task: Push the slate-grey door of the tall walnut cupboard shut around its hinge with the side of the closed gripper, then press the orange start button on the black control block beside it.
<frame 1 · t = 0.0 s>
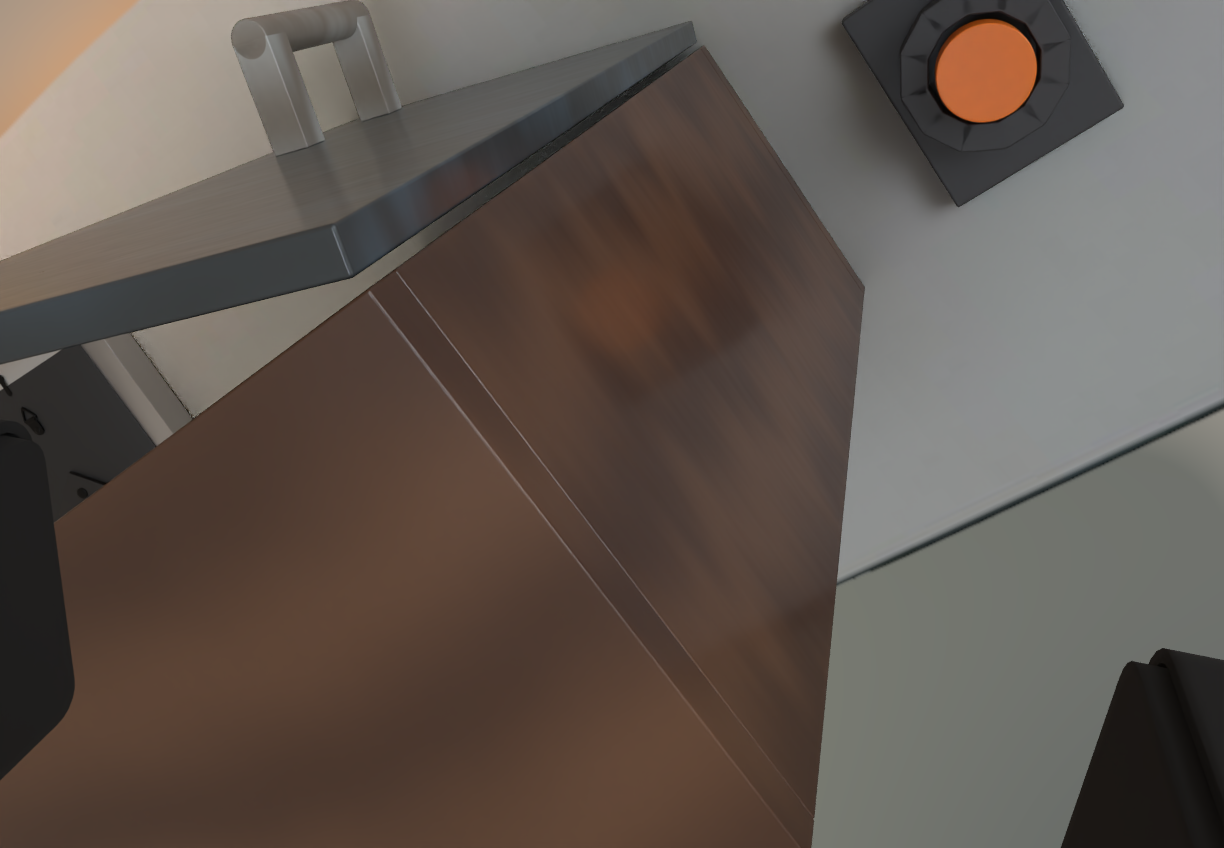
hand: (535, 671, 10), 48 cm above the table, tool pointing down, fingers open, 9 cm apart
picture frame: (122, 487, 73), on the table
control block: (979, 60, 52), on the table
cupboard: (635, 270, 59), on the table
cupboard door: (322, 84, 39), point 19 cm above the table, hinge at 20.0°
start button: (984, 70, 49), point 3 cm above the table, slide at 0.1 cm
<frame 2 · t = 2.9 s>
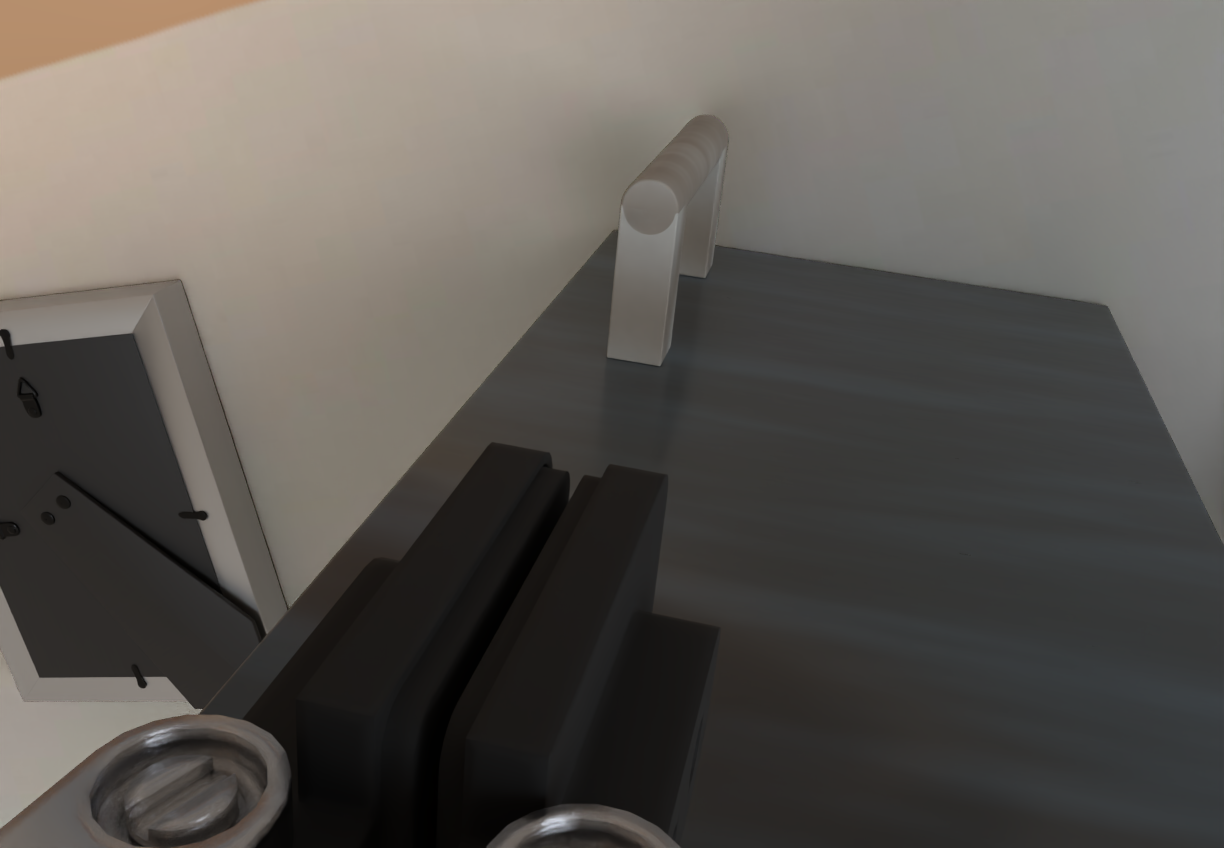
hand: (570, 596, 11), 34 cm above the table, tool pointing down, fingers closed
picture frame: (110, 498, 57), on the table
cupboard door: (833, 421, 26), point 19 cm above the table, hinge at 20.0°
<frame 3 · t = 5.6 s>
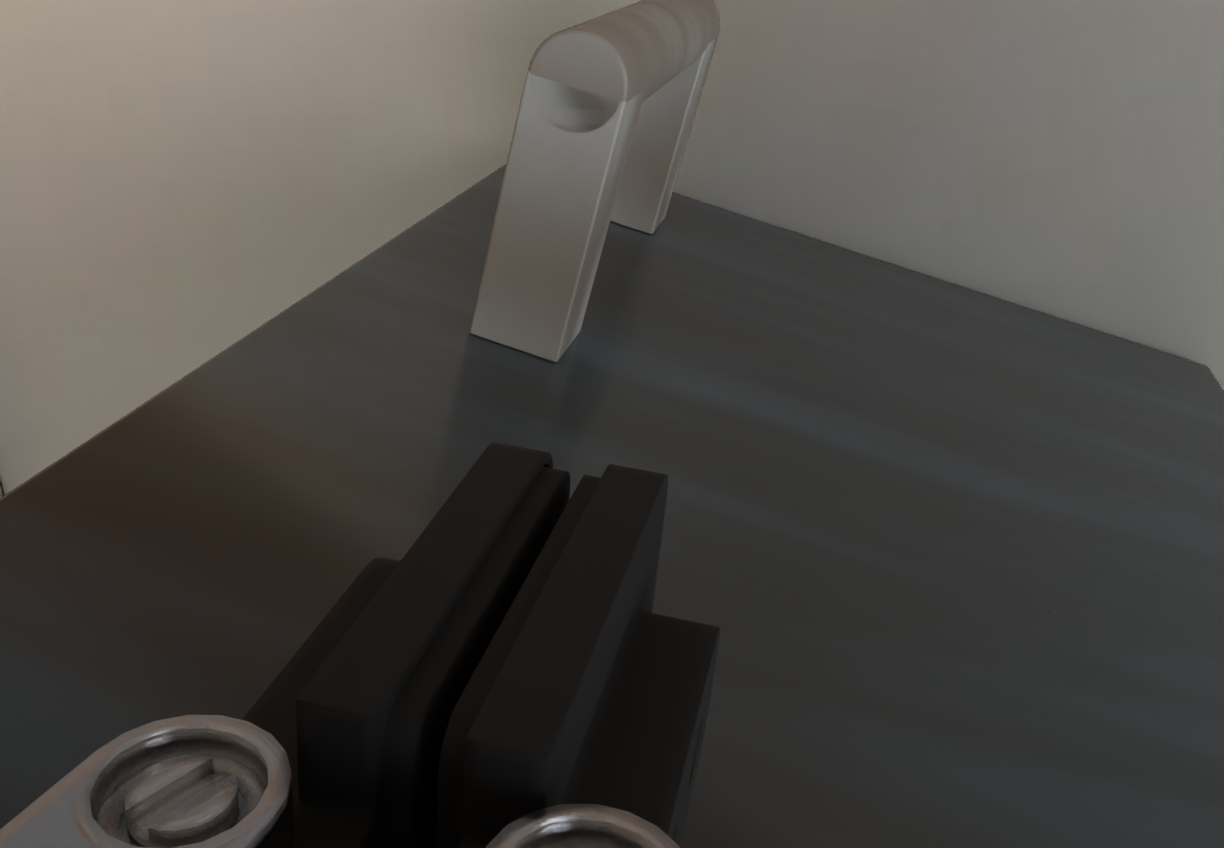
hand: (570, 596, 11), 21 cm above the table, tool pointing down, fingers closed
cupboard door: (876, 547, 12), point 19 cm above the table, hinge at 19.7°, touching gripper
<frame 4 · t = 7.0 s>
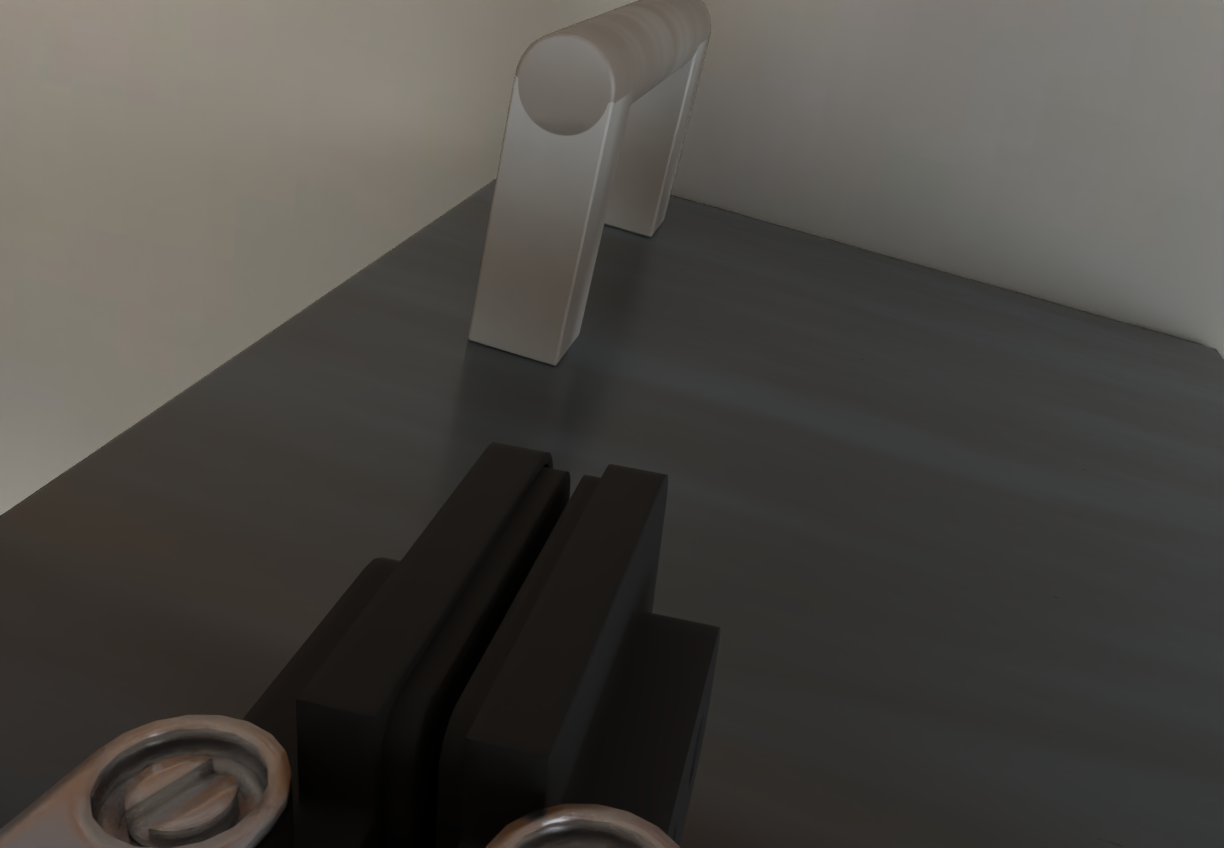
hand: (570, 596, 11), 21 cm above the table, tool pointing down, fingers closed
cupboard door: (872, 535, 12), point 19 cm above the table, hinge at 4.5°, touching gripper
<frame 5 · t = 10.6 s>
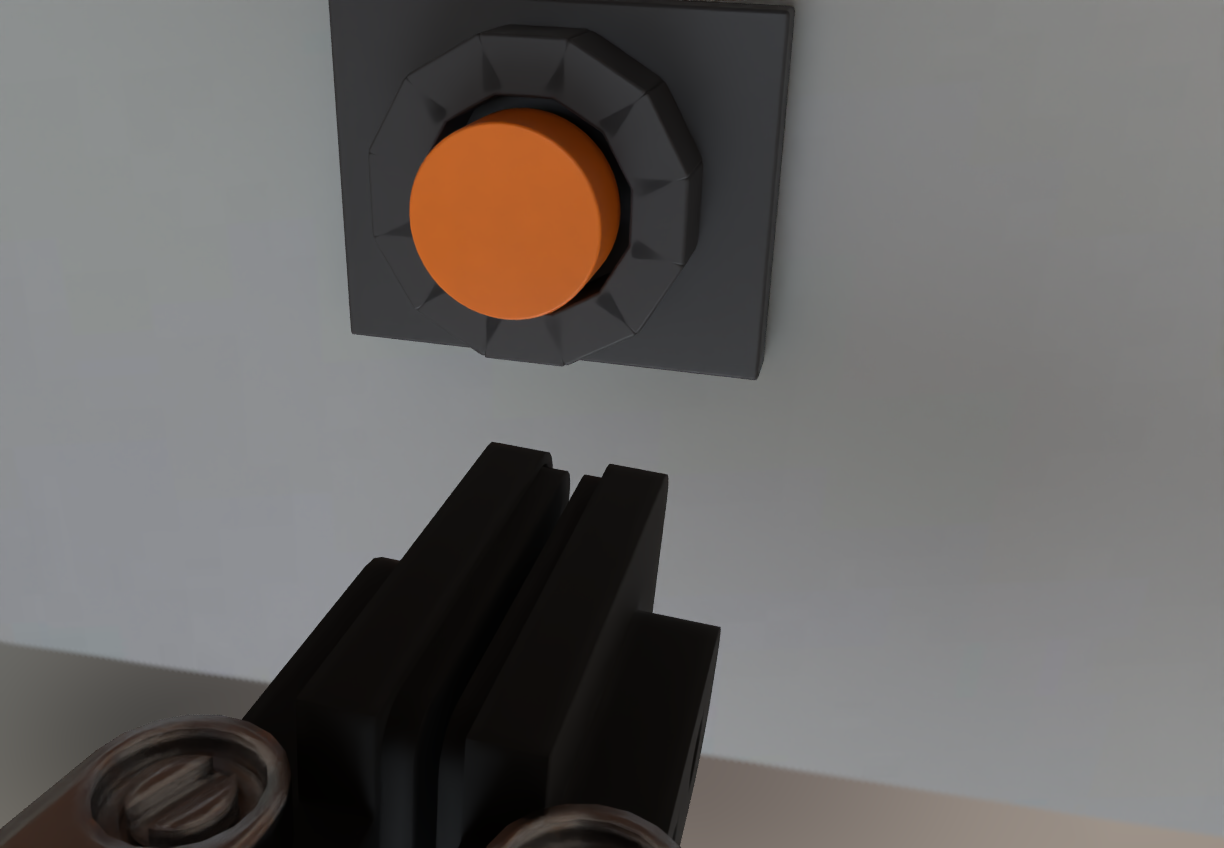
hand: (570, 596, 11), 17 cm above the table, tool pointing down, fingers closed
control block: (561, 178, 27), on the table
start button: (516, 214, 24), point 3 cm above the table, slide at 0.1 cm
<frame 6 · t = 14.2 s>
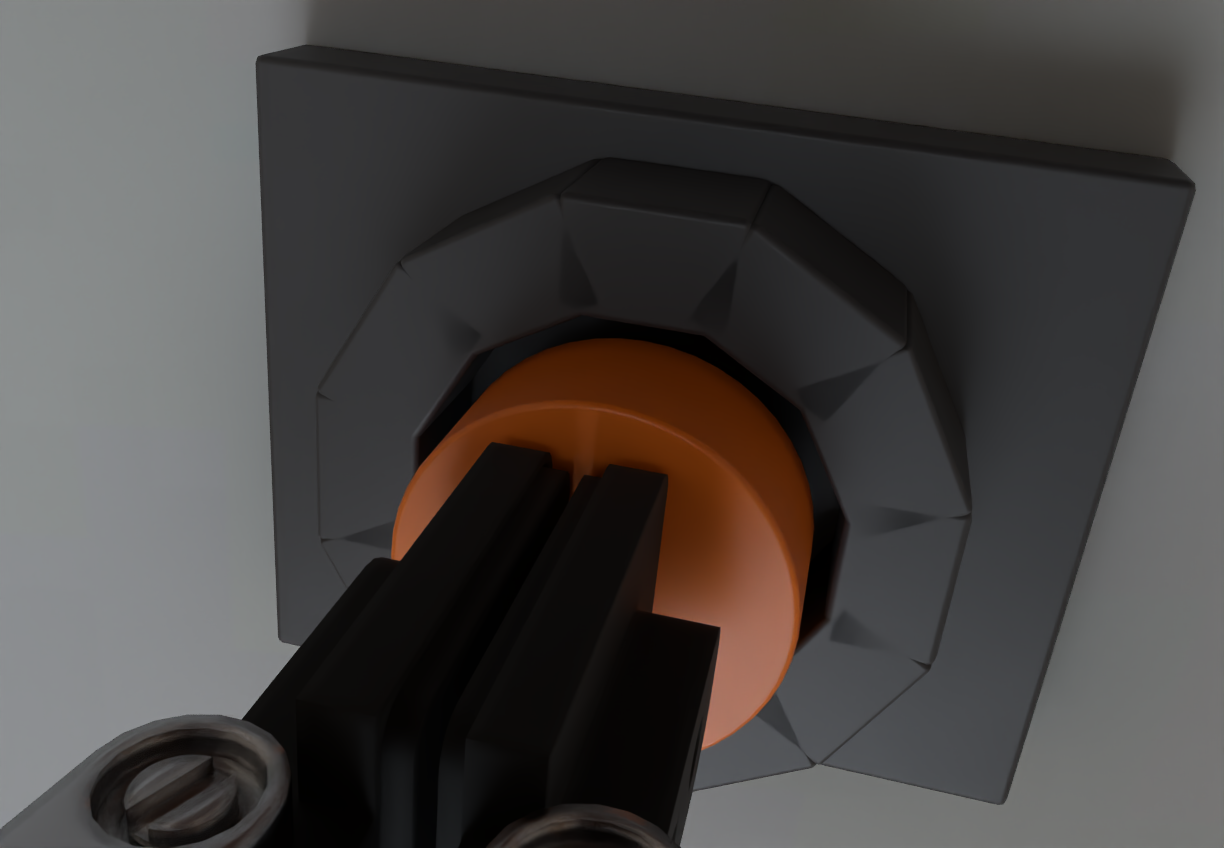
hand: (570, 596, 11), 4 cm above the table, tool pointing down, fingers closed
control block: (670, 416, 15), on the table
start button: (608, 551, 12), point 3 cm above the table, slide at 0.1 cm, touching gripper
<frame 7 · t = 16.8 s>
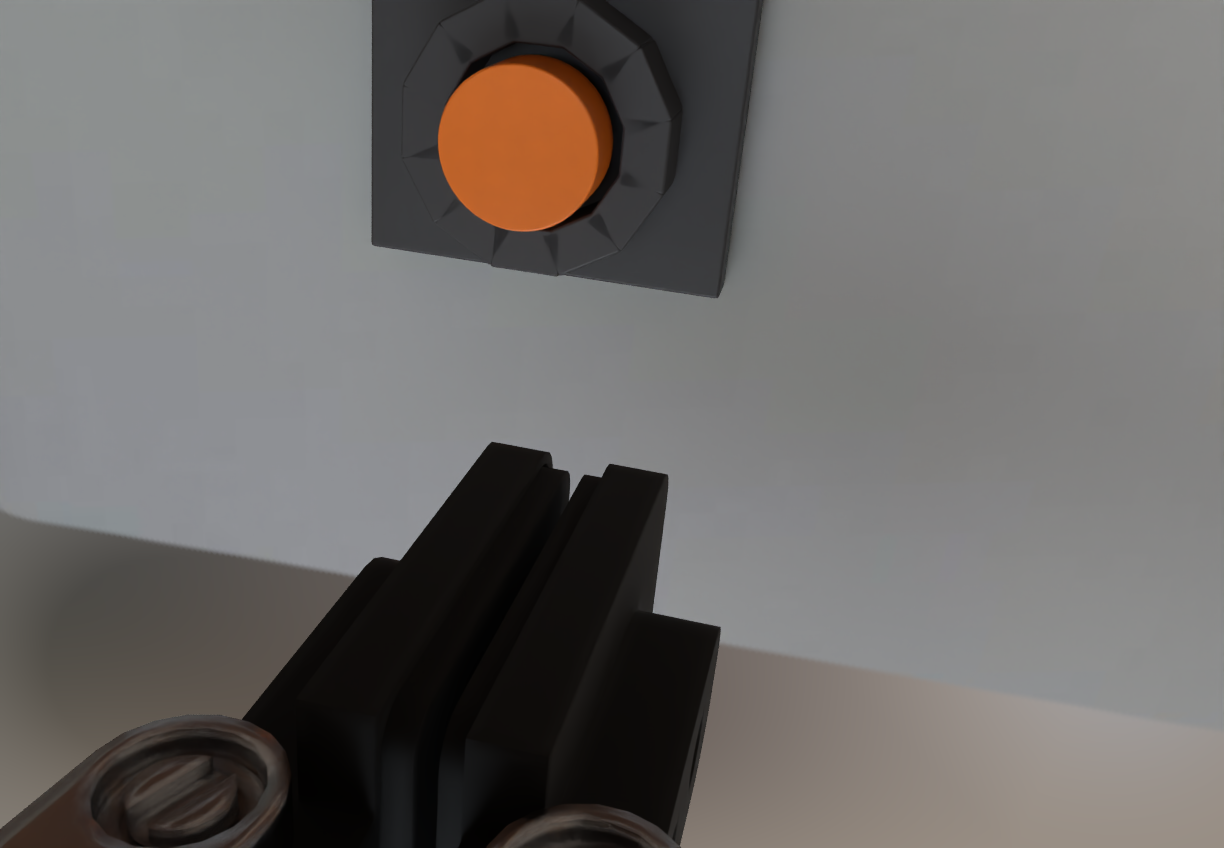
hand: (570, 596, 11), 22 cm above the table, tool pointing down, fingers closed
control block: (561, 119, 32), on the table
start button: (526, 143, 28), point 3 cm above the table, slide at 0.1 cm
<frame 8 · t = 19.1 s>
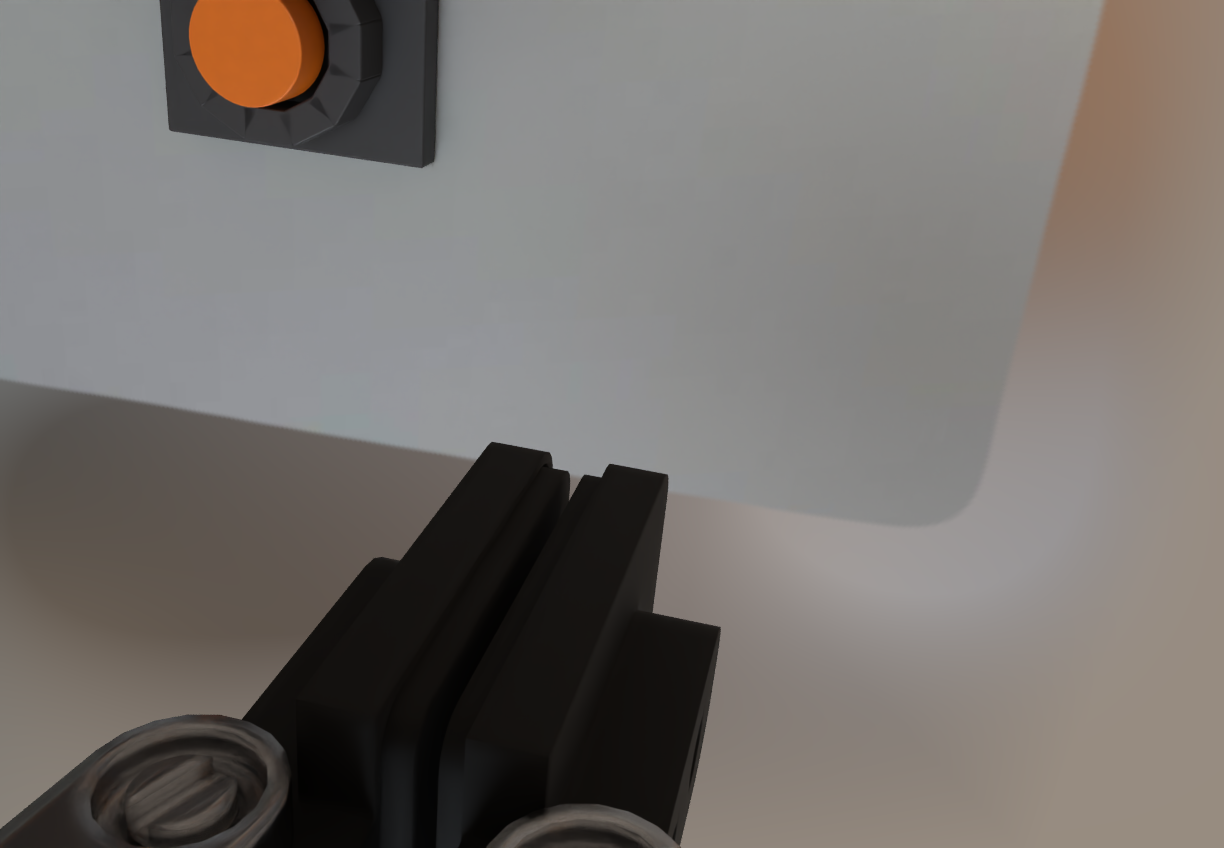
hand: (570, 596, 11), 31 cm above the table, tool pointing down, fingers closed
control block: (305, 31, 42), on the table
start button: (257, 42, 38), point 3 cm above the table, slide at 0.1 cm
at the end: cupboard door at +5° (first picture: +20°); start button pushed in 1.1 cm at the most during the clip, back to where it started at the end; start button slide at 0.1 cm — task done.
